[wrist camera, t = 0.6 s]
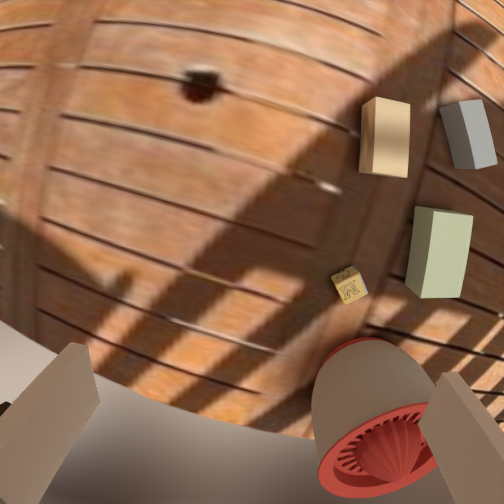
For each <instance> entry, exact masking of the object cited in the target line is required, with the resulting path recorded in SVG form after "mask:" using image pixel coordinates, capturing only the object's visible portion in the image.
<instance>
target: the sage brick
mask: <svg viewBox="0 0 504 504" xmlns="http://www.w3.org/2000/svg"><path fill="white" fill-rule="evenodd" d="M472 223H473V216H471V215H467V214H464V213H460V212H456V211H452V210H444V209H436V208H427V207H418V206H415V213H414V223H413V232H412V240H411V247H410V255H409V261H408V268H407V274H406V280H405V285H406V286H407V287H408V288H410V289H411V290H412V291H413V292H414V293H415V294H416V295H418V296H419V297H420V298H452V297H459V296H460V292H461V288H462V283H463V278H464V273H465V268H466V263H467V257H468V251H469V245H470V238H471V231H472Z"/></svg>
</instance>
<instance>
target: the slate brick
mask: <svg viewBox="0 0 504 504" xmlns="http://www.w3.org/2000/svg"><path fill="white" fill-rule="evenodd" d="M439 110H440V113H441V117H442V120H443V124H444V127H445V131H446V134H447V138H448V142H449V146H450V150H451V155H452V159H453V163H454V168H456V169H479V168H483V167H487V166H491V165H495V164H497V159H496V154H495V149H494V145H493V140H492V136H491V132H490V128H489V124H488V120H487V117H486V113H485V109H484V106H483V103H482V99H481V100H470V101H461V102H456V103H453V104H450V105H447V106H443V107H440V108H439Z"/></svg>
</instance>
